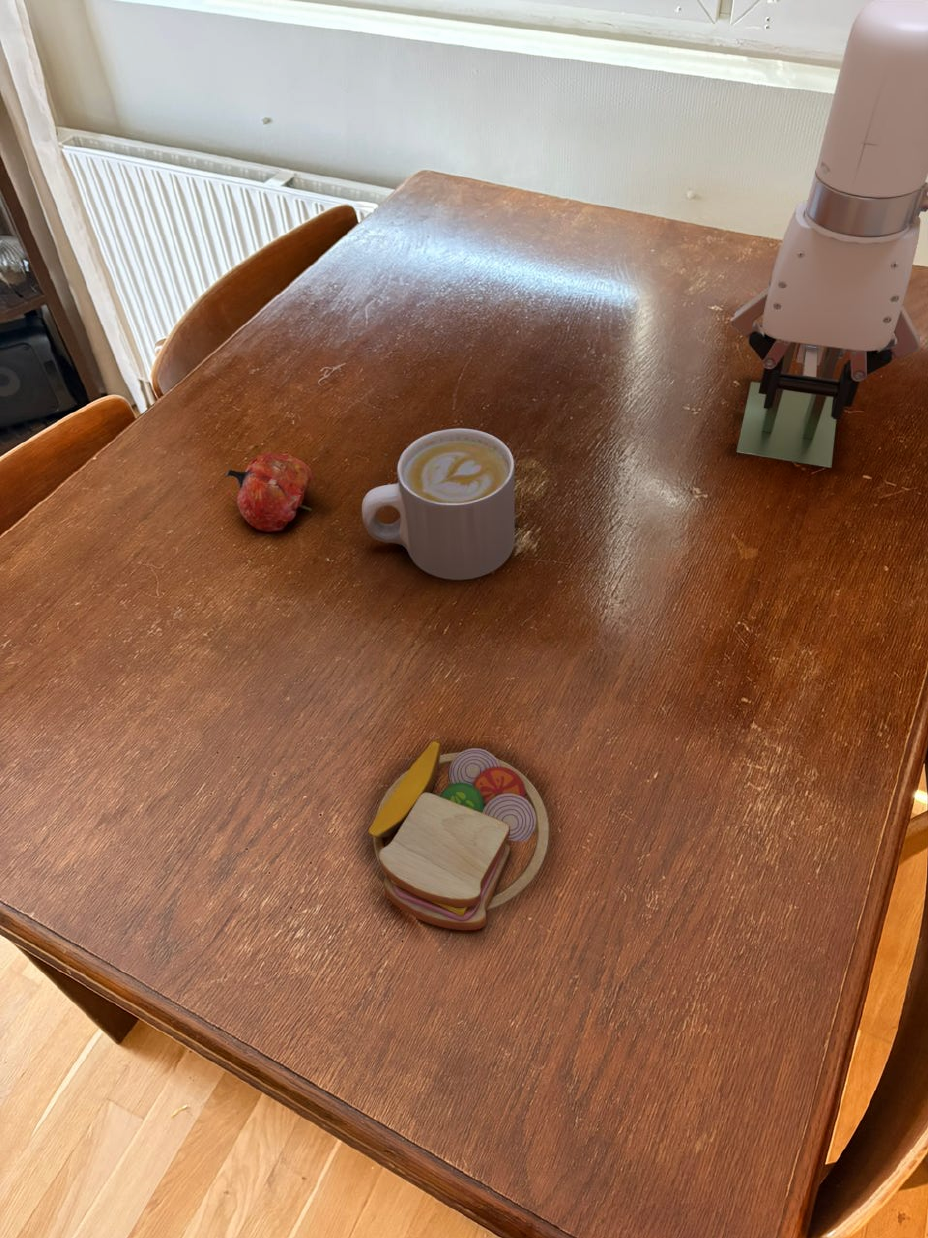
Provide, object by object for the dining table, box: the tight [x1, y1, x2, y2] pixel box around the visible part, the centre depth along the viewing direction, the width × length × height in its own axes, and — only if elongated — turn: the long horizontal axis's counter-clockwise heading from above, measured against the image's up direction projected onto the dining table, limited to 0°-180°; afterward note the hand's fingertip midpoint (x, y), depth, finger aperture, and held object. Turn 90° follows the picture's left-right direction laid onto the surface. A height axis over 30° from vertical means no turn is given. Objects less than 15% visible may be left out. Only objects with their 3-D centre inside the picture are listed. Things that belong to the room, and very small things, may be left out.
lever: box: [777, 343, 840, 398], centre depth 81 cm, size 11×5×2 cm, turn 162°
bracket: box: [735, 342, 847, 469], centre depth 87 cm, size 12×9×12 cm
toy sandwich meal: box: [368, 740, 550, 931], centre depth 63 cm, size 12×14×5 cm
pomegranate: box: [224, 453, 313, 533], centre depth 84 cm, size 7×7×10 cm
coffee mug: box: [361, 427, 516, 581], centre depth 80 cm, size 13×10×10 cm
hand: (802, 402), depth 79 cm, fingers closed on lever, 5 cm apart
